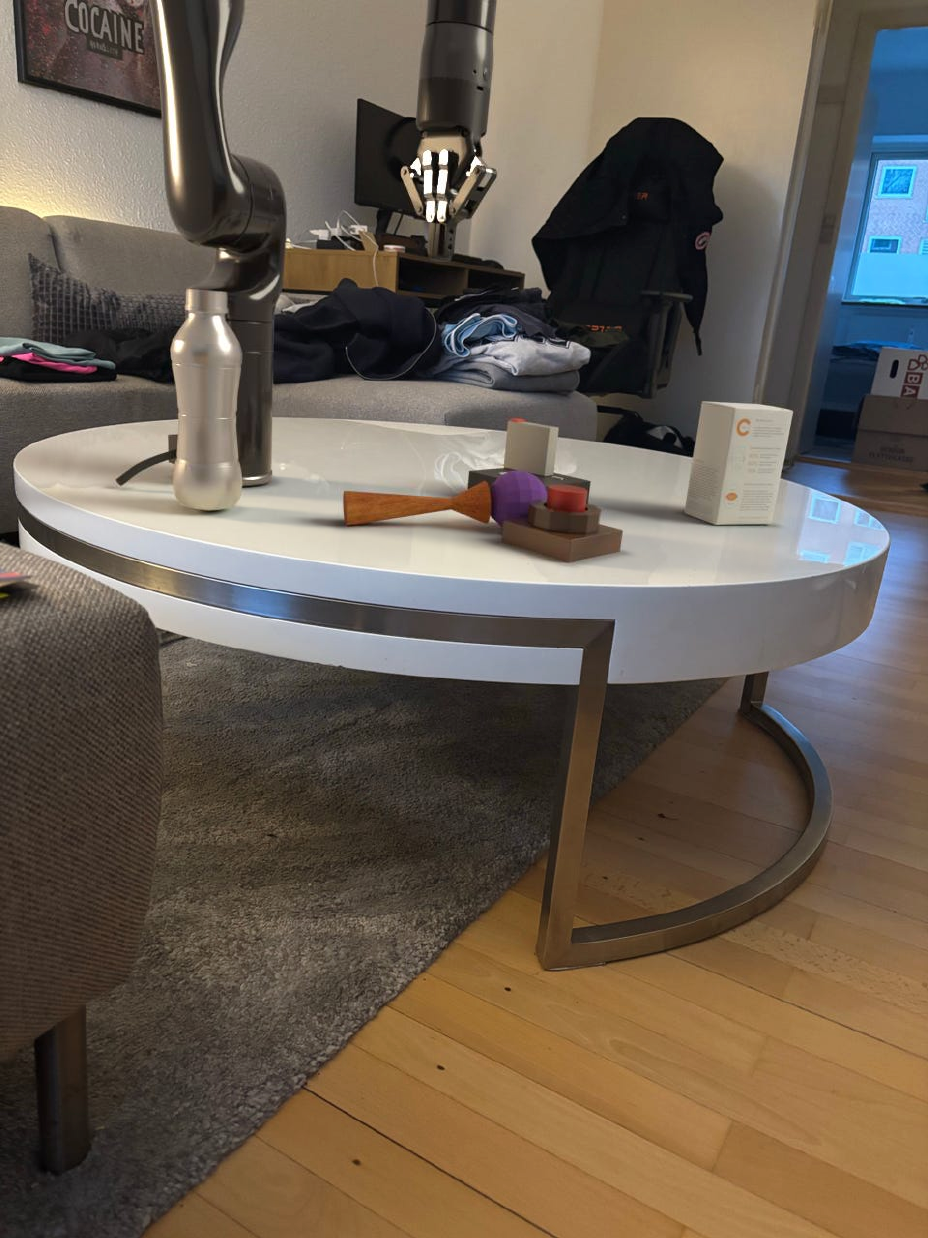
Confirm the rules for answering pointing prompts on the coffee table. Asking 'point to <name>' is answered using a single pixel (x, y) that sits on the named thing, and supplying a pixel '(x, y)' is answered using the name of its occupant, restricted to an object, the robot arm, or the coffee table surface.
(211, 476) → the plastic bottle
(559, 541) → the block
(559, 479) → the hob panel
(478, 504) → the kendama
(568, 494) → the button
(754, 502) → the small box
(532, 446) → the beige square slab
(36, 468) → the coffee table surface
